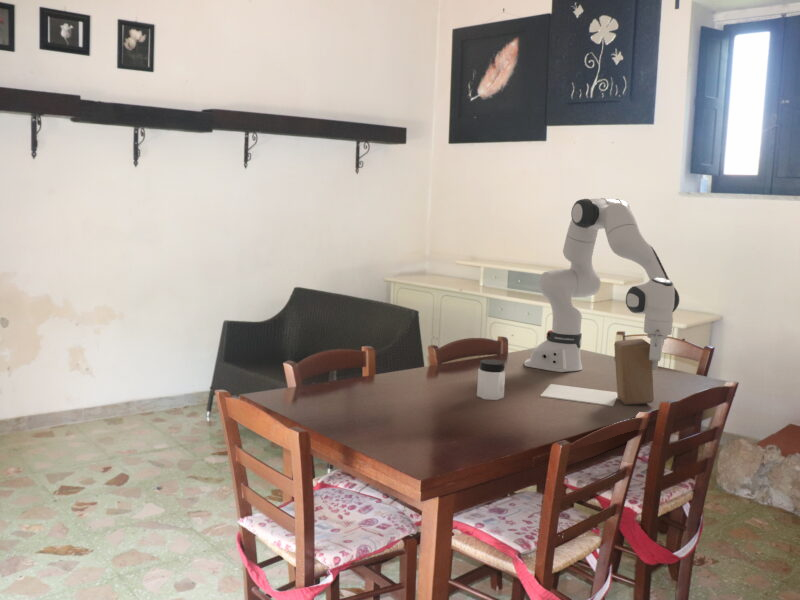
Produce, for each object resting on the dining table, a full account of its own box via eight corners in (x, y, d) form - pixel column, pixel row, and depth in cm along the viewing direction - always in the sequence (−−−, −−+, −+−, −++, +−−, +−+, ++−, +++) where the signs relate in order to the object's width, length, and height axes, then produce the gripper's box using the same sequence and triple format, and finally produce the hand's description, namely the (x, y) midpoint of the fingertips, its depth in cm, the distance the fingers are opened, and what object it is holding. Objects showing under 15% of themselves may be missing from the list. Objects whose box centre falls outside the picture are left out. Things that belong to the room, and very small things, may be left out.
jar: (494, 401, 262) (496, 366, 260) (473, 397, 267) (475, 362, 265) (507, 396, 269) (509, 361, 268) (486, 392, 274) (488, 357, 272)
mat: (540, 396, 271) (540, 395, 271) (550, 385, 288) (550, 383, 288) (612, 406, 262) (613, 405, 262) (619, 393, 279) (619, 392, 279)
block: (654, 403, 263) (651, 343, 260) (624, 405, 263) (620, 346, 261) (646, 395, 273) (643, 338, 270) (616, 397, 273) (613, 340, 271)
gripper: (667, 333, 252) (663, 376, 254) (668, 324, 271) (665, 364, 273) (646, 331, 254) (642, 374, 256) (649, 322, 273) (645, 362, 275)
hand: (654, 369), depth 265 cm, fingers closed
